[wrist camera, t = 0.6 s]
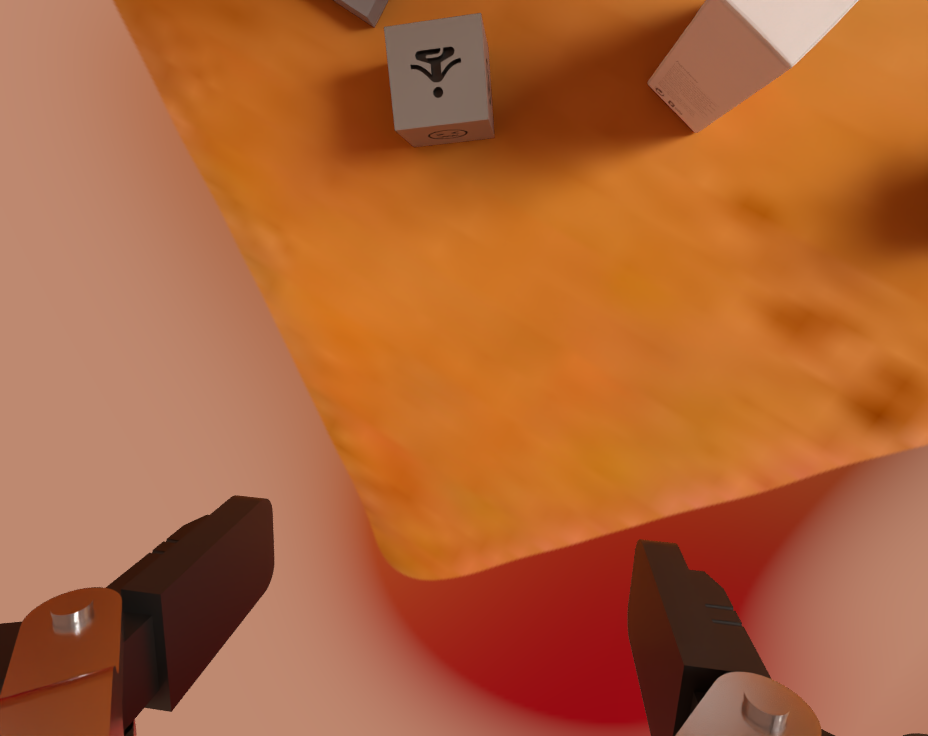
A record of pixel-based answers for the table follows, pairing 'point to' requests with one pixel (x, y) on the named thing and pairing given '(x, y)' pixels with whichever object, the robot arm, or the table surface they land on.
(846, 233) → the table surface
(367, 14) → the plate
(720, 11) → the skincare box
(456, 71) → the dice cube
